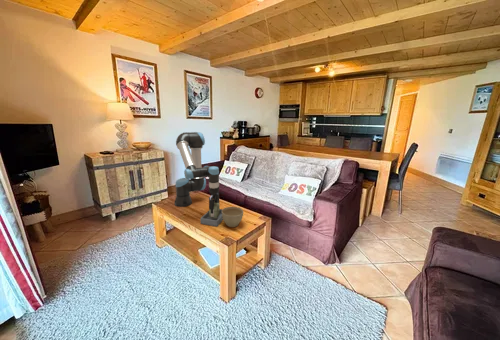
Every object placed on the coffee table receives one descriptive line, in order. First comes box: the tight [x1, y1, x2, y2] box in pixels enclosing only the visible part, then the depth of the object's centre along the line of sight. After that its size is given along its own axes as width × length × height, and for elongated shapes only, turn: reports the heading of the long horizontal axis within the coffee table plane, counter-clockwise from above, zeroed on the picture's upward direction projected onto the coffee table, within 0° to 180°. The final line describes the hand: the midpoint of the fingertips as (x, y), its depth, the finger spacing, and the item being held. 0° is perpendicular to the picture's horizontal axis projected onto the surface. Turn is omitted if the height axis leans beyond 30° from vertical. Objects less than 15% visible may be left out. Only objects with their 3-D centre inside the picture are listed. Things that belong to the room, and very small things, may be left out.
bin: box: [200, 208, 224, 228], centre depth 159 cm, size 20×14×4 cm
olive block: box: [208, 202, 221, 218], centre depth 157 cm, size 6×6×10 cm
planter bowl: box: [222, 206, 244, 228], centre depth 152 cm, size 16×16×11 cm
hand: (214, 214), depth 158 cm, fingers closed on olive block, 6 cm apart
